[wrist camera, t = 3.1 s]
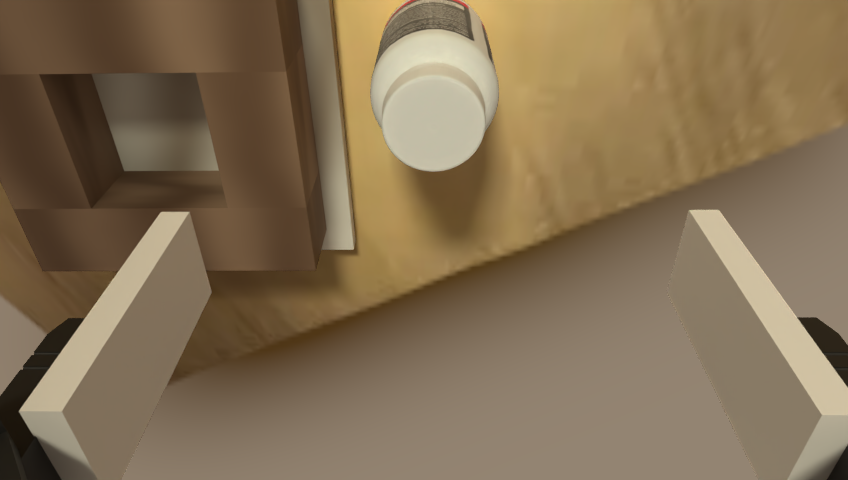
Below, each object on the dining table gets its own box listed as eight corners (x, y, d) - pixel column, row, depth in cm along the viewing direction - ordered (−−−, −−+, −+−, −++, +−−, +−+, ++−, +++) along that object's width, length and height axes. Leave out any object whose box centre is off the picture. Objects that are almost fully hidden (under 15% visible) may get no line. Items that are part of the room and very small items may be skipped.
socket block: (70, 241, 38) (26, 292, 34) (-66, -79, 28) (-153, -62, 24) (355, 240, 38) (345, 291, 34) (323, -85, 28) (304, -69, 23)
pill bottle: (360, 51, 31) (333, 132, 23) (429, -35, 29) (426, 22, 21) (439, 116, 33) (440, 211, 25) (509, 40, 31) (536, 119, 23)
